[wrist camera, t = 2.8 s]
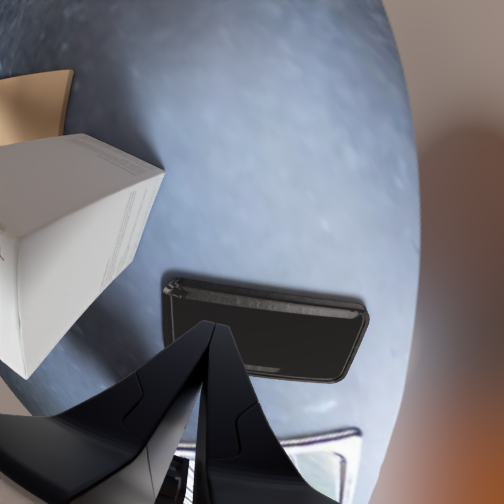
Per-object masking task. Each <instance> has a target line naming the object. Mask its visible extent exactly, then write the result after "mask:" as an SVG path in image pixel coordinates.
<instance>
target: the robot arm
mask: <svg viewBox="0 0 504 504" xmlns="http://www.w3.org/2000/svg"><path fill="white" fill-rule="evenodd" d="M201 385H202V388H201ZM200 389H201V395H200V406H199V417H198V429H197V442H196V455H195V469H194V485H193V503H192V504H340V503H338V502H337V501H335V500H333V499H331V498H329V497H327V496H325V495H324V494H322V493H320V492H318V491H317V490H315V489H314V488H313V487H311V486H310V485H309V484H308V483H307V482H306V481H305V480H304V478H303V477H302V476H301V474H300V473H299V472H298V470H297V469H296V467H295V466H294V464H293V463H292V461H291V460H290V458H289V456H288V455H287V453H286V452H285V450H284V449H283V447H282V446H281V444H280V442H279V441H278V439H277V437H276V436H275V434H274V432H273V431H272V429H271V427H270V425H269V423H268V421H267V419H266V417H265V415H264V412H263V410H262V408H261V405H260V403H258V402H259V401H258V398H257V396H256V393H255V391H254V388H253V386H252V384H251V381H250V379H249V376H248V374H247V371H246V369H245V366H244V363H243V361H242V358H241V356H240V353H239V351H238V348H237V345H236V343H235V340H234V338H233V335H232V332H231V330H230V327H229V326H227V325H223V324H216V325H215V323H214V322H210V321H206V320H202V321H201V322H199V323H198V324H197V325H195V326H194V327H193V328H191V329H190V330H189V331H187V332H186V333H185V334H183V335H182V336H181V337H179V338H178V339H177V340H175V341H174V342H173V343H171V344H170V345H169V346H167V347H166V348H165V349H163V350H162V351H161V352H159V353H158V354H157V355H155V356H154V357H153V358H151V359H150V360H148V361H147V362H146V363H144V364H143V365H142V366H140V367H139V368H138V369H136V370H135V372H134V371H133V372H132V373H130V374H129V375H128V376H126V377H125V378H124V379H122V380H121V381H119V382H118V383H116V384H115V385H113V386H111V387H110V388H108V389H106V390H104V391H103V392H101V393H99V394H97V395H95V396H93V397H91V398H90V399H88V400H86V401H84V402H82V403H80V404H78V405H76V406H74V407H72V408H70V409H68V410H66V411H64V412H61V413H59V414H56V415H52V416H46V417H35V416H20V415H10V414H1V413H0V504H183V502H184V498H185V494H186V486H187V477H188V468H189V459H187V458H182V457H179V456H176V455H174V453H175V451H176V448H177V446H178V444H179V441H180V439H181V436H182V434H183V431H184V429H185V428H186V424H187V421H188V419H189V416H190V414H191V412H192V409H193V407H194V404H195V402H196V399H197V397H198V394H199V392H200Z"/></svg>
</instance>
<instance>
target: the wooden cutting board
mask: <svg viewBox="0 0 504 504" xmlns="http://www.w3.org/2000/svg"><path fill="white" fill-rule="evenodd" d="M73 74H74V70H59V71H50V72H43V73H36V74H29V75H23V76H18V77H12V78H7V79H3V80H0V146H4V145H9V144H14V143H20V142H25V141H31V140H37V139H43V138H49V137H57V136H63V131H64V123H65V117H66V110H67V104H68V98H69V93H70V88H71V83H72V78H73Z"/></svg>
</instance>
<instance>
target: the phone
mask: <svg viewBox="0 0 504 504" xmlns="http://www.w3.org/2000/svg"><path fill="white" fill-rule="evenodd" d="M202 320H206V321H210V322H214V323H215V325H216V324H223V325H227V326H229V327H230V330H231V332H232V335H233V338H234V340H235V343H236V345H237V348H238V351H239V353H240V356H241V358H242V361H243V363H244V366H245V369H246V371H247V374H248V376H254V377H261V378H270V379H278V380H288V381H299V382H312V383H327V384H332V383H337V382H339V381H341V380H342V379H344V378H345V376H346V375H347V373H348V370H349V368H350V366H351V364H352V362H353V360H354V357H355V355H356V353H357V351H358V348H359V346H360V344H361V342H362V339H363V337H364V334H365V332H366V330H367V327H368V325H369V321H370V318H369V314H368V312H367V310H366V308H365V307H364V306H363V305H361V304H357V303H349V302H341V301H333V300H325V299H317V298H309V297H302V296H295V295H287V294H280V293H273V292H266V291H259V290H253V289H246V288H240V287H233V286H227V285H221V284H214V283H208V282H202V281H196V280H190V279H185V278H174V279H172V280H170V281H169V282H168V283H167V285H166V287H165V288H164V290H163V326H164V346H165V348H166V347H167V346H169V345H170V344H171V343H173V342H174V341H175V340H177V339H178V338H179V337H181V336H182V335H183V334H185V333H186V332H187V331H189V330H190V329H191V328H193V327H194V326H195V325H197V324H198V323H199V322H201V321H202Z"/></svg>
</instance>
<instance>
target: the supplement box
mask: <svg viewBox="0 0 504 504" xmlns="http://www.w3.org/2000/svg"><path fill="white" fill-rule="evenodd" d="M164 175H165V171H164V170H162V169H160V168H158V167H156V166H153V165H151V164H150V163H147V162H145V161H143V160H141V159H139V158H136V157H135V156H133V155H130V154H128V153H126V152H124V151H122V150H120V149H117V148H115V147H113V146H111V145H108V144H106V143H104V142H102V141H100V140H97V139H95V138H93V137H91V136H88V135H86V134H83V133H81V134H73V135H64V136H57V137H49V138H43V139H37V140H31V141H25V142H20V143H14V144H9V145H4V146H0V359H1V360H2V361H3V362H4V363H5V364H7V365H8V366H9V367H10V368H12V369H13V370H14V371H15V372H17V373H18V374H19V375H20V376H22V377H23V378H24V379H26V380H27V379H28V378H29V377H30V376H31V374H32V373H33V372H34V371H35V370H36V368H37V367H38V366H39V365H40V363H41V362H42V361H43V360H44V359H45V357H46V356H47V355H48V354H49V353H50V351H51V350H52V349H53V348H54V347H55V345H56V344H57V343H58V342H59V341H60V339H61V338H62V337H63V336H64V335H65V333H66V332H67V331H68V330H69V329H70V328H71V326H72V325H73V324H74V323H75V322H76V321H77V319H78V318H79V317H80V316H81V315H82V314H83V313H84V311H85V310H86V309H87V308H88V307H89V306H90V305H91V304H92V303H93V301H94V300H95V299H96V298H97V297H98V296H99V295H100V294H101V293H102V292H103V291H104V290H105V289H106V287H107V286H108V285H109V284H110V283H111V282H112V281H113V280H114V279H115V278H116V277H117V276H118V275H119V274H120V273H121V272H122V271H123V270H124V269H125V268H126V267H127V266H128V265H129V264H130V263H131V262H132V261H133V259H134V256H135V253H136V250H137V247H138V244H139V241H140V239H141V236H142V233H143V230H144V227H145V224H146V222H147V219H148V216H149V213H150V211H151V208H152V205H153V203H154V200H155V198H156V195H157V192H158V190H159V187H160V185H161V182H162V180H163V178H164Z"/></svg>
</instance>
